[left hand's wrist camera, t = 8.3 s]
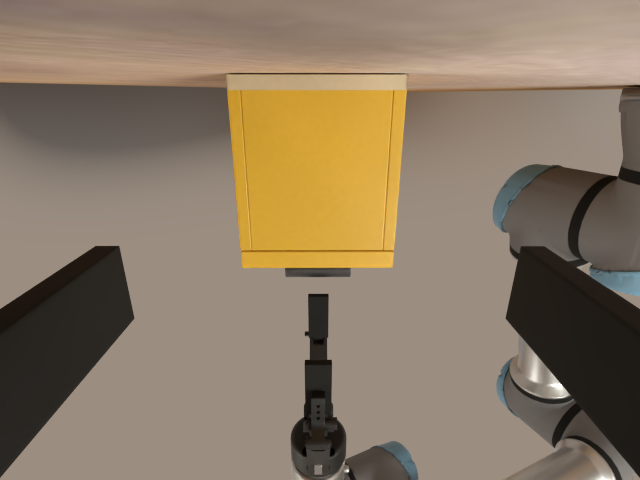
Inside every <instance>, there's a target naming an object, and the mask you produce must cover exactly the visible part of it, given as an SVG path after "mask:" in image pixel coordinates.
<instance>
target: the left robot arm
mask: <svg viewBox="0 0 640 480" xmlns="http://www.w3.org/2000/svg"><path fill="white" fill-rule="evenodd" d="M133 319H134V314H133V310H132V305H131V300H130V296H129V291H128V286H127V281H126V277H125V272H124V267H123V262H122V257H121V253H120V248H119V246H95V247H94V248H92V249H91V250H89V251H88V252H86V253H85V254H83V255H81V256H80V257H78V258H77V259H75V260H74V261H72V262H71V263H69V264H68V265H66V266H65V267H63V268H62V269H60V270H59V271H57V272H56V273H54V274H53V275H51V276H50V277H48V278H47V279H45V280H44V281H42V282H41V283H39V284H38V285H36V286H34V287H33V288H32V289H30V290H28V291H27V292H25V293H24V294H22V295H21V296H19V297H18V298H16V299H15V300H13V301H12V302H10V303H9V304H7V305H6V306H4V307H3V308H1V309H0V477H1V476H2V475H3V474H4V472H5V471H6V470H7V469H8V468H9V467H10V465H11V464H12V463H13V462H14V461H15V459H16V458H17V457H18V456H19V455H20V454H21V452H22V451H23V450H24V449H25V448H26V446H27V445H28V444H29V443H30V442H31V440H32V439H33V438H34V437H35V436H36V435H37V433H38V432H39V431H40V430H41V429H42V427H43V426H44V425H45V424H46V423H47V421H48V420H49V419H50V418H51V417H52V415H53V414H54V413H55V412H56V411H57V410H58V408H59V407H60V406H61V405H62V404H63V403H64V401H65V400H66V399H67V398H68V397H69V395H70V394H71V393H72V392H73V391H74V389H75V388H76V387H77V386H78V385H79V384H80V382H81V381H82V380H83V379H84V378H85V376H86V375H87V374H88V373H89V372H90V370H91V369H92V368H93V367H94V366H95V365H96V363H97V362H98V361H99V360H100V359H101V357H102V356H103V355H104V354H105V353H106V351H107V350H108V349H109V348H110V347H111V345H112V344H113V343H114V342H115V341H116V340H117V338H118V337H119V336H120V335H121V334H122V333H123V331H124V330H125V329H126V328H127V327H128V325H129V324H130V323H131V322H132V321H133ZM506 319H507V321H508V322H509V323H510V324H511V325H512V327H513V328H514V329H515V330H516V331H517V332H518V334H519V335H520V336H521V337H522V338H523V340H524V341H525V342H526V343H527V344H528V346H529V347H530V348H531V349H532V350H533V351H534V353H535V354H536V355H537V356H538V357H539V359H540V360H541V361H542V362H543V363H544V365H545V366H546V367H547V368H548V369H549V370H550V372H551V373H552V374H553V375H554V376H555V378H556V379H557V380H558V381H559V382H560V384H561V385H562V386H563V387H564V388H565V389H566V391H567V392H568V393H569V394H570V395H571V397H572V398H573V399H574V400H575V401H576V403H577V404H578V405H579V406H580V407H581V408H582V410H583V411H584V412H585V413H586V414H587V416H588V417H589V418H590V419H591V420H592V422H593V423H594V424H595V425H596V426H597V427H598V429H599V430H600V431H601V432H602V433H603V435H604V436H605V437H606V438H607V439H608V440H609V442H610V443H611V444H612V445H613V446H614V448H615V449H616V450H617V451H618V452H619V454H620V455H621V456H622V457H623V458H624V459H625V461H626V462H627V463H628V464H629V465H630V467H631V468H632V469H633V470H634V471H635V473H636V474H637V475H638V476H639V477H640V309H639V308H637V307H636V306H634V305H633V304H631V303H630V302H628V301H627V300H625V299H624V298H622V297H621V296H619V295H618V294H616V293H615V292H613V291H612V290H610V289H609V288H607V287H606V286H604V285H602V284H601V283H599V282H598V281H596V280H595V279H593V278H592V277H590V276H589V275H587V274H586V273H584V272H583V271H581V270H580V269H578V268H577V267H575V266H574V265H572V264H571V263H569V262H568V261H566V260H565V259H563V258H562V257H560V256H559V255H557V254H556V253H554V252H552V251H551V250H549V249H548V248H546V247H545V246H521V248H520V253H519V257H518V262H517V267H516V272H515V277H514V281H513V286H512V291H511V295H510V300H509V305H508V310H507V314H506Z"/></svg>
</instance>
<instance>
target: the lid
mask: <svg viewBox="0 0 640 480" xmlns="http://www.w3.org/2000/svg"><path fill="white" fill-rule="evenodd" d="M393 257H394V251H393V250H242V251H241V260H242V267H243V268H285V275H286V277H350V274H351V268H392V267H393Z"/></svg>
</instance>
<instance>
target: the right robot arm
mask: <svg viewBox="0 0 640 480" xmlns="http://www.w3.org/2000/svg"><path fill="white" fill-rule="evenodd" d="M619 112H621V135H622V145H623V161H622V165H621V168H620V172H619V175H618V177H617V176H611V175H605V174H599V173H594V172H588V171H582V170H577V169H571V168H565V167H562V166H559V165H552V166H549V165H540V164H534V165H529V166H526V167H523V168H521V169H520V170H518V171H517V172H515V173H514V174H513V175H512V176H511V177H510V178H509V179H508V180H507V181H506V182H505V184H504V186H503V187H502V188H501V189H500V191H499V193H498V195H497V197H496V200H495V203H494V207H493V220H494V223H495V225H496V226H497V227H499V229H500V230H501V231H502V232H508V233H509V235H510V253H511V255H512V257H513V258H514V259H515V260H516V261H518V257H519V253H520V248H521V246H545V247H546V248H548V249H549V250H551V251H552V252H554V253H556V254H557V255H559V256H560V257H562V258H563V259H565V260H566V261H568V262H569V263H571V264H572V265H574V266H575V267H577V268H578V269H580V270H581V271H582V267H584V266H586V265H588V264H590V263H592V265H591V266H590V268H589V271H590V276H591V277H592V278H593V279H595V280H596V281H598V282H599V283H601V284H602V285H604V286H606V287H607V288H609V289H612V290H616V291H619V292H623V293H626V294H631V295H635V296H640V88H624V89H623V90H622V94H621V97H620V104H619ZM308 308H309V310H308V311H309V332H305V336H309V338H310V360H305V405H304V417H303V418H302V419H300V420H299V421H298V422H297V423H296V424H295V426H294V428H293V430H292V433H291V455H292V456H291V468H292V480H418V473H417V469H416V465H415V463H414V462H413V461H412V459H411V455H410V453H409V452H408V450H407V449H406V448H405V447H404V446H403V445H402V444H400V443H399V442H396V441H391V442H388V443H385V444H382V445H379V446H374V447H372V448H370V449H368V450H366V451H364V452H361V453H359V454H357V455H355V456H352V457H350V458H348V459H345V456H346V433H345V430H344V427H343V426H342V424H341V423H340V422H339V421H338V420H337V417H332V416H333V404H332V402H331V387H332V360H327V338H328V294H308ZM501 372H502V373H501V375H499V376H498V379H497V394H498V396H499V399H500V400H501V402H502V403H503V404H504V405H505V406H506V407H507V408H508V409H509V410H510V411H511V412H512V414H514V415H515V416H517V417H519V418H520V419H521V420H522V421H524V422H525V423H526V424H527V425H528V426H529V427H531V428H532V429H533V430H534V431H535V432H536V433H538V434H539V435H540V436H541V437H542V438H543V439H545V440H546V441H547V442H548V443H549V444H551V445H552V446H553V447H554V448H555V452H554V453H552V454H550V455H548V456H546V457H545V458H543V459H541V460H539V461H537V462H535V463H533V464H532V465H530V466H528V467H526V468H524V469H522V470H521V471H519V472H517V473H515V474H513V475H511V476H509V477H508V478H506V479H504V480H633V477H634V473H635V471H634V470H633V469H632V468H631V467H630V465H629V464H628V463H627V462H626V461H625V459H624V458H623V457H622V456H621V455H620V454H619V452H618V451H617V450H616V449H615V448H614V446H613V445H612V444H611V443H610V442H609V440H608V439H607V438H606V437H605V436H604V435H603V433H602V432H601V431H600V430H599V429H598V427H597V426H596V425H595V424H594V423H593V422H592V420H591V419H590V418H589V417H588V416H587V414H586V413H585V412H584V411H583V410H582V408H581V407H580V406H579V405H578V404H577V403H576V401H575V400H574V399H573V398H572V397H571V395H570V394H569V393H568V392H567V391H566V389H565V388H564V387H563V386H562V385H561V384H560V382H559V381H558V380H557V379H556V378H555V376H554V375H553V374H552V373H551V372H550V370H549V369H548V368H547V367H546V366H545V365H544V363H543V362H542V361H541V360H540V359H539V357H538V356H537V355H536V354H535V353H534V351H533V350H532V349H531V348H530V347H529V346H528V344H527V343H526V342H525V341H524V340H523V338H522V337H521V336H520V335H519V354H518V355H516V356H515V357H513V358H511V359H510V360H509V361H508V362H507V363H506V364H505V365H504V366H503V368H502V369H501Z"/></svg>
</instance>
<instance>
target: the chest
mask: <svg viewBox="0 0 640 480" xmlns="http://www.w3.org/2000/svg"><path fill="white" fill-rule="evenodd" d="M407 85H408V75H404V74H226V87H227V93H228V105H229V117H230V129H231V141H232V153H233V165H234V177H235V189H236V201H237V213H238V225H239V237H240V249H241V250H394V245H395V233H396V220H397V207H398V194H399V182H400V169H401V156H402V143H403V130H404V118H405V105H406V92H407Z"/></svg>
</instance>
